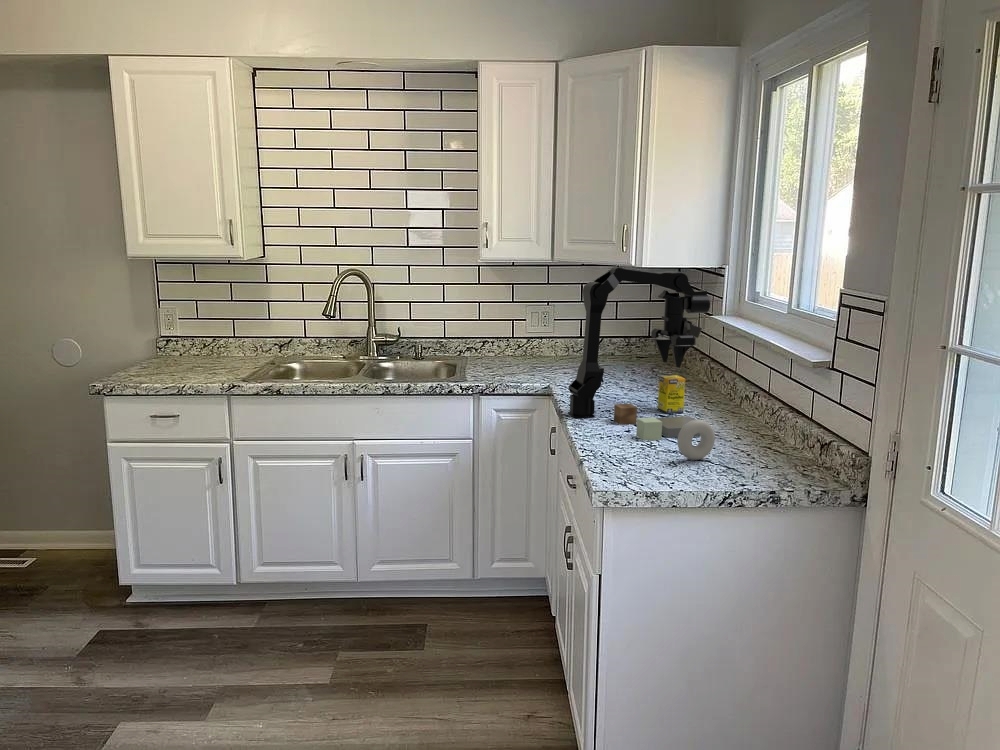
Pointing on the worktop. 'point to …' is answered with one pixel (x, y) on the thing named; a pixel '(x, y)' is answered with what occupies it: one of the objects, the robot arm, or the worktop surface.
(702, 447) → the donut
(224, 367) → the worktop surface
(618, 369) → the worktop surface
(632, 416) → the walnut block
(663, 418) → the block
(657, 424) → the sage block
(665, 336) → the robot arm
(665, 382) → the supplement box
